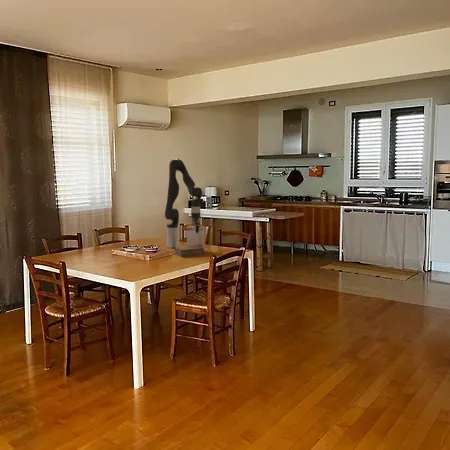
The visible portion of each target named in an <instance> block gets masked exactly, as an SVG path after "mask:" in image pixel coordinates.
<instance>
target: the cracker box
mask: <svg viewBox="0 0 450 450" xmlns="http://www.w3.org/2000/svg"><path fill="white" fill-rule="evenodd" d="M205 230H206V229H205V226H204V225H199V232H198V233H196V227H195V226H192V225H187V226H186V246H199V247H202V248H204V252H205V251H206V249H205V248H206V245H205V244H206V243H205V241H206V239H205V238H206V234H205Z"/></svg>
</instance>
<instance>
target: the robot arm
mask: <svg viewBox="0 0 450 450" xmlns="http://www.w3.org/2000/svg"><path fill="white" fill-rule="evenodd" d="M168 166H169V168H168V186H167V196H166V197H167V198H166V205H165V210H164V218H165V219H166V220H167V221H169V220H170V222H168V223H167V224H166V240H167V241H166V247H167V248H169V249H173V248H174V249H175V247H179V239H178V237H179V235H178V234H179V232H178V231H179V229H178V227H179V222H180V221H179V220H180V214H179V210H178V209H177V208H173V207H174V203H175V202H176V200H177V198H178V196H179V193H180V184H179V182H178V180H177V176H176V175H177V171H178V172H180V173H181V174H182V181H183V183H184V184H185V186H186V188H187V190H188V194H189V195H190V196H191V197H194V198H193V199H191V209H190V212H191V213H190V217H191V221H192V222H191V223H192V225H191V226H195V227H196V233H198V232H199V226H200V220H199V219H201V200H202V196H203V190H202V188H201V187H199V186H198V187H195V186H196V182H195V181H194V180H193V178H192V177H191V176H190V174H189V172H188V169H187V167H186V165H185V163H184V161H183V160H181V159H171V160H170V162H169V165H168Z"/></svg>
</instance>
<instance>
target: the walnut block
mask: <svg viewBox="0 0 450 450" xmlns="http://www.w3.org/2000/svg"><path fill="white" fill-rule="evenodd" d="M204 252H205V251H204V248H202V247H199V246H187V245H186V246H178V247H175V248H174V255H175V256H177V257H180V258H186V257H199V255H200V256H205V253H204Z"/></svg>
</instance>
